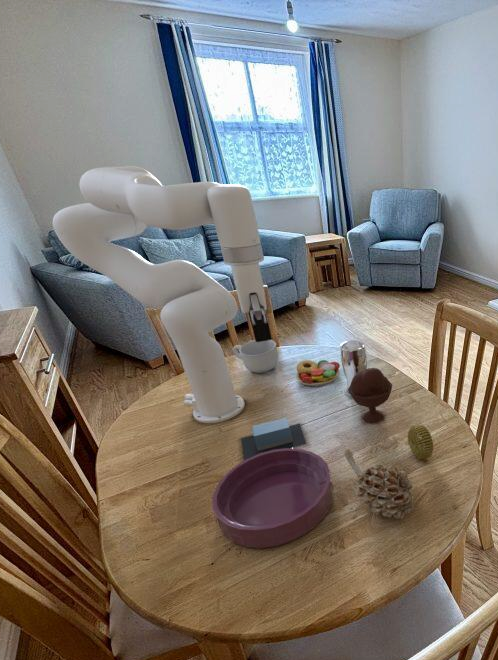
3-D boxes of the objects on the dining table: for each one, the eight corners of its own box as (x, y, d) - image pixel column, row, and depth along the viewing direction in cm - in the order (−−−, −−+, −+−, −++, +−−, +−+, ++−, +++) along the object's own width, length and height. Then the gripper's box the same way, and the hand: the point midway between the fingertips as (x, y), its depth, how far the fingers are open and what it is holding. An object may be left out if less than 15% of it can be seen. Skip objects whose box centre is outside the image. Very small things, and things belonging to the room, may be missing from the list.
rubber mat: (244, 461, 93) (243, 460, 93) (241, 439, 100) (241, 438, 100) (306, 444, 98) (306, 443, 98) (299, 424, 105) (299, 423, 105)
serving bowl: (197, 546, 74) (187, 525, 71) (251, 464, 92) (245, 445, 90) (313, 554, 73) (309, 533, 70) (345, 469, 91) (342, 450, 88)
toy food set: (297, 368, 131) (295, 359, 129) (339, 364, 134) (338, 355, 132) (296, 390, 120) (294, 380, 118) (342, 384, 122) (340, 375, 121)
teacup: (287, 363, 134) (282, 341, 130) (265, 379, 125) (260, 356, 121) (252, 357, 138) (246, 335, 134) (229, 372, 129) (222, 349, 125)
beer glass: (346, 386, 122) (340, 340, 114) (370, 385, 122) (366, 339, 114) (344, 399, 116) (338, 351, 108) (369, 398, 116) (364, 350, 108)
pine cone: (429, 513, 81) (429, 475, 75) (392, 543, 75) (389, 504, 70) (360, 460, 94) (356, 425, 89) (324, 482, 88) (317, 446, 83)
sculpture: (405, 448, 97) (404, 420, 93) (420, 442, 99) (419, 415, 95) (420, 468, 91) (420, 440, 87) (436, 462, 93) (436, 434, 89)
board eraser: (257, 451, 96) (253, 436, 94) (255, 440, 99) (251, 425, 97) (292, 441, 99) (289, 427, 97) (289, 431, 102) (286, 417, 100)
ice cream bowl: (396, 406, 112) (394, 358, 105) (389, 431, 103) (385, 380, 95) (358, 404, 113) (353, 356, 106) (347, 428, 104) (341, 377, 96)
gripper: (221, 246, 87) (240, 321, 96) (224, 266, 74) (246, 351, 83) (258, 243, 90) (273, 316, 99) (267, 261, 77) (284, 344, 86)
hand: (261, 332), depth 91 cm, fingers open, 9 cm apart
